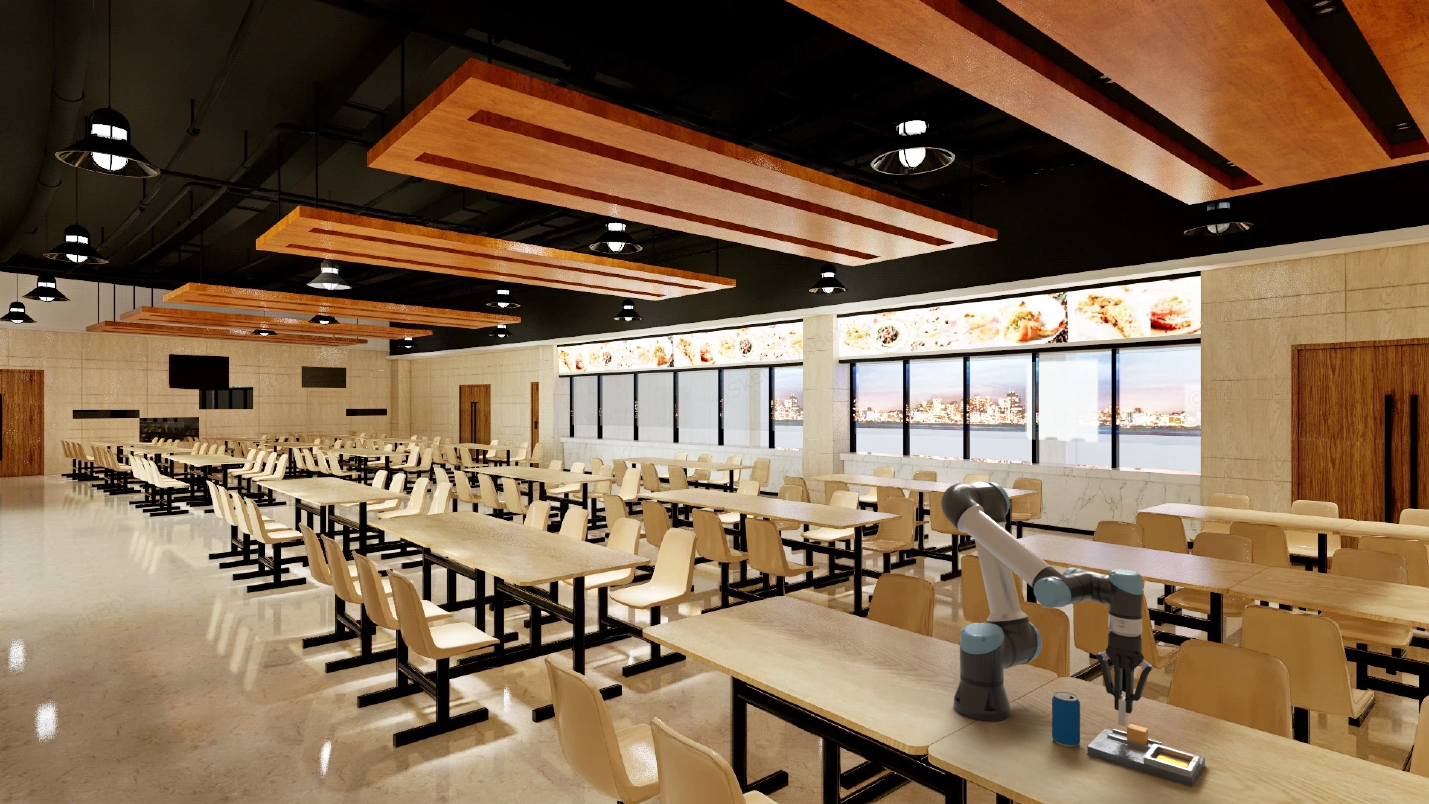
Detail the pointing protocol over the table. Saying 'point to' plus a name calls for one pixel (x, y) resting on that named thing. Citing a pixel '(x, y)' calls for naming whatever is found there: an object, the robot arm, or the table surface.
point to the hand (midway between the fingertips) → (1123, 723)
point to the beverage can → (1066, 719)
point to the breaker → (1137, 734)
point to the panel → (1147, 757)
